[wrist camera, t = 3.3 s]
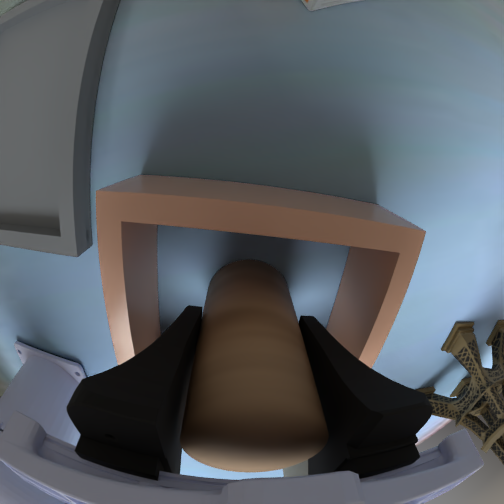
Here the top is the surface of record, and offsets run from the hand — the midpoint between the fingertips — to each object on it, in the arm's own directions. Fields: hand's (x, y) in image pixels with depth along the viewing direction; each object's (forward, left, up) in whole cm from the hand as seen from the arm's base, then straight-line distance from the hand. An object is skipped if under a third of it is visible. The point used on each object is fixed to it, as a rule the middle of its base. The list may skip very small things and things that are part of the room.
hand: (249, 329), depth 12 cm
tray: (+10, +15, -3) cm, 18 cm away
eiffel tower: (-7, -22, -3) cm, 23 cm away
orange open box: (0, 0, -3) cm, 3 cm away
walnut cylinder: (0, 0, -3) cm, 3 cm away
